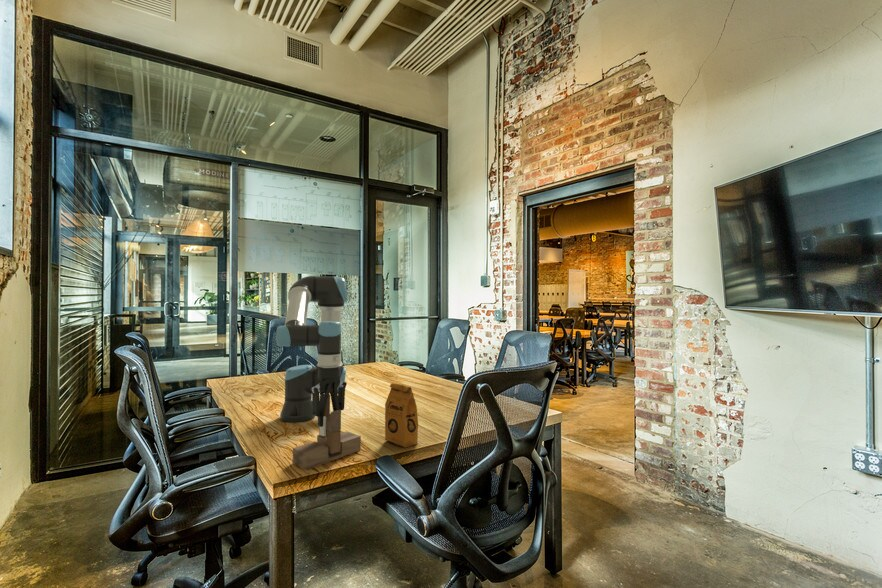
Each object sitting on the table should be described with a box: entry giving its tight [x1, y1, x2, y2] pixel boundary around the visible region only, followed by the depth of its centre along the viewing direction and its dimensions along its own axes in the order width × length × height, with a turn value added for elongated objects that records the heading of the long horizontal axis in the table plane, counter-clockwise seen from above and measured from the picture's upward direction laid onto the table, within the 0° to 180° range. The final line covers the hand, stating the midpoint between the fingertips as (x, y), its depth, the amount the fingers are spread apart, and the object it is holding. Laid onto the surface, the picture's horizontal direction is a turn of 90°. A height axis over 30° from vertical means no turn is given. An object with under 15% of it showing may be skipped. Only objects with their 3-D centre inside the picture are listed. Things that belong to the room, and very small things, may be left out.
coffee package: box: [384, 382, 419, 449], centre depth 153 cm, size 10×12×22 cm
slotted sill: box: [292, 431, 362, 471], centre depth 139 cm, size 8×22×5 cm, turn 141°
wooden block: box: [316, 393, 342, 454], centre depth 139 cm, size 4×11×18 cm, turn 42°
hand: (328, 433), depth 139 cm, fingers closed on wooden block, 4 cm apart
